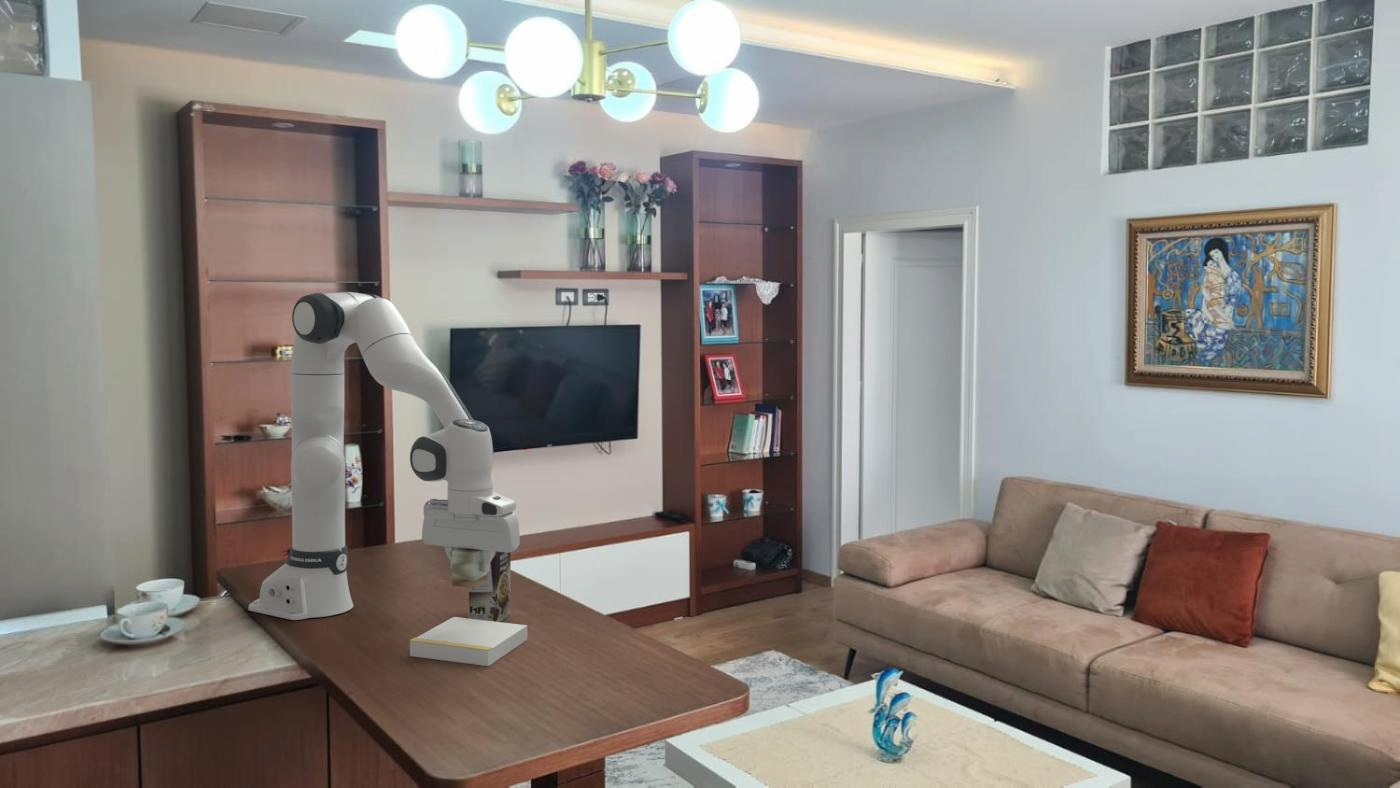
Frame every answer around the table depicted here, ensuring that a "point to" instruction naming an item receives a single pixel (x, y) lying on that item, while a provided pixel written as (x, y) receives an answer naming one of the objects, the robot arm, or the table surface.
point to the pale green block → (467, 567)
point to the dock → (468, 641)
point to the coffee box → (493, 591)
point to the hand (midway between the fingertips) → (470, 569)
